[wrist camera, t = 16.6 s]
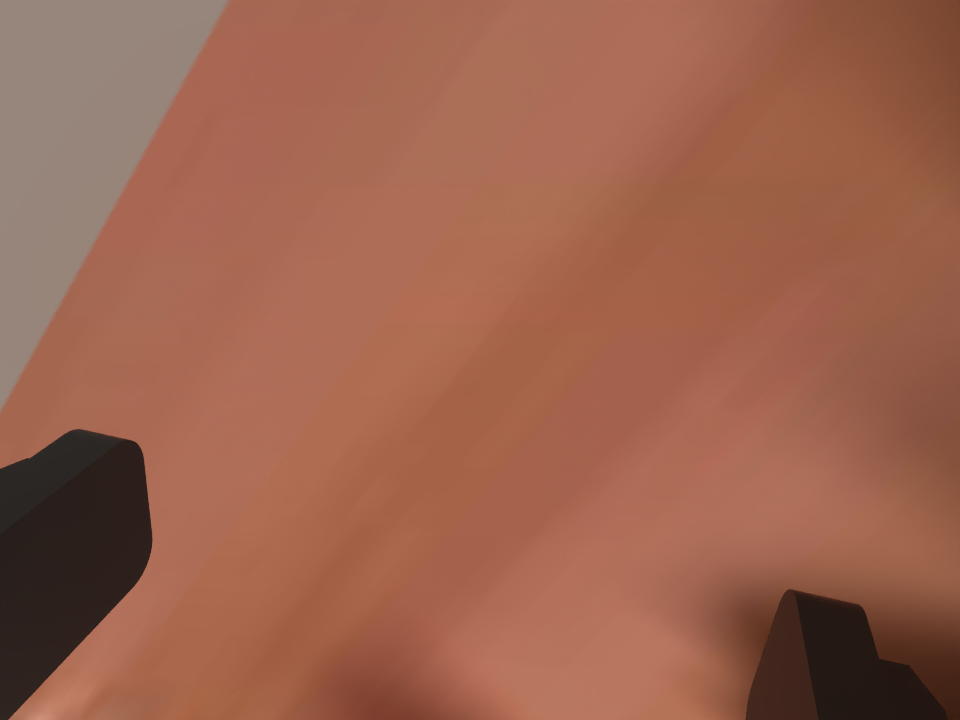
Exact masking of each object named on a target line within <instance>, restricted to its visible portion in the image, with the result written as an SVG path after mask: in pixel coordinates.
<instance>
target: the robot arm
mask: <svg viewBox="0 0 960 720" xmlns="http://www.w3.org/2000/svg"><path fill="white" fill-rule="evenodd" d="M151 548H152V529H151V520H150V511H149V502H148V493H147V484H146V474H145V465H144V457H143V453H142V450H141V448H140V447H139V445H138V444H137V443H136V442H134V441H131V440H127V439H122V438H118V437H113V436H109V435H104V434H100V433H96V432H91V431H87V430H81V429H76V430H72V431H69V432H68V433H66V434H64V435H63V436H61V437H60V438H58V439H57V440H56V441H54V442H53V443H51V444H50V445H48V446H47V447H46V448H44V449H43V450H41V451H40V452H38V453H37V454H35V455H34V456H33V457H31V458H30V459H29V458H26V459H24V460H21V461H19V462H16V463H14V464H11V465H9V466H6V467H4V468H1V469H0V720H8V719H9V718H10V717H11V716H12V715H13V714H14V713H15V712H16V711H17V710H18V709H19V708H20V707H21V706H22V705H23V704H24V702H25V701H26V700H27V699H28V698H29V697H30V696H31V695H32V694H33V693H34V692H35V691H36V690H37V689H38V688H39V687H40V685H41V684H42V683H43V682H44V681H45V680H46V679H47V678H48V677H49V676H50V675H51V674H52V673H53V672H54V671H55V670H56V669H57V667H58V666H59V665H60V664H61V663H62V662H63V661H64V660H65V659H66V658H67V657H68V656H69V655H70V654H71V653H72V652H73V651H74V649H75V648H76V647H77V646H78V645H79V644H80V643H81V642H82V641H83V640H84V639H85V638H86V637H87V636H88V635H89V634H90V632H91V631H92V630H93V629H94V628H95V627H96V626H97V625H98V624H99V623H100V622H101V621H102V620H103V619H104V618H105V617H106V616H107V614H108V613H109V612H110V611H111V610H112V609H113V608H114V607H115V606H116V605H117V604H118V603H119V602H120V601H121V600H122V599H123V598H124V596H125V595H126V594H127V593H128V592H129V591H130V590H131V589H132V588H133V587H134V586H135V584H136V583H137V582H138V580H139V579H140V577H141V576H142V574H143V572H144V570H145V568H146V566H147V563H148V560H149V557H150V553H151ZM746 720H948V718H947V715H946V713H945V710H944V709H943V708H942V707H941V705H940V704H939V703H938V702H937V700H936V699H935V698H934V697H933V695H932V694H931V693H930V692H929V690H928V689H927V688H926V687H925V685H924V684H923V683H922V682H921V680H920V679H919V678H918V677H917V675H916V674H915V673H914V672H913V670H912V669H911V668H910V667H909V666H908V665H904V664H899V663H895V662H891V661H886V660H882V659H879V657H878V654H877V650H876V647H875V644H874V640H873V637H872V633H871V630H870V627H869V623H868V620H867V617H866V614H865V611H864V610H863V608H862V607H861V606H860V605H858V604H854V603H849V602H845V601H840V600H836V599H831V598H827V597H822V596H818V595H813V594H809V593H805V592H800V591H796V590H791V589H789V590H787V591H786V592H785V593H784V595H783V596H782V598H781V601H780V603H779V606H778V609H777V612H776V615H775V618H774V621H773V624H772V627H771V630H770V633H769V636H768V639H767V642H766V645H765V648H764V651H763V654H762V657H761V660H760V663H759V666H758V669H757V672H756V675H755V678H754V680H753V683H752V687H751V690H750V695H749V699H748V705H747V712H746Z"/></svg>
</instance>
